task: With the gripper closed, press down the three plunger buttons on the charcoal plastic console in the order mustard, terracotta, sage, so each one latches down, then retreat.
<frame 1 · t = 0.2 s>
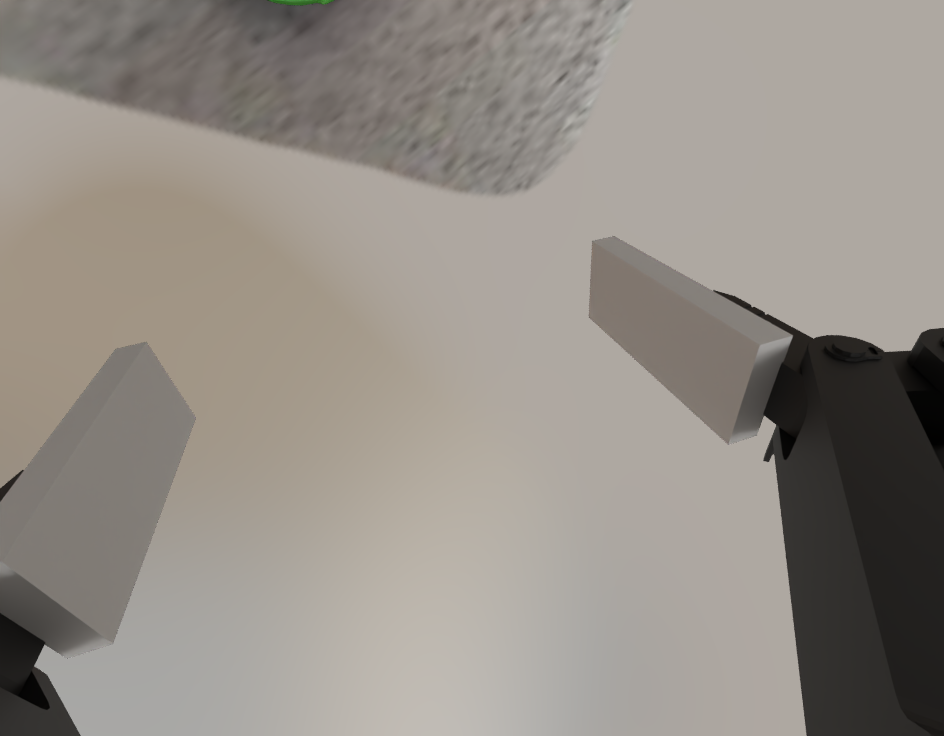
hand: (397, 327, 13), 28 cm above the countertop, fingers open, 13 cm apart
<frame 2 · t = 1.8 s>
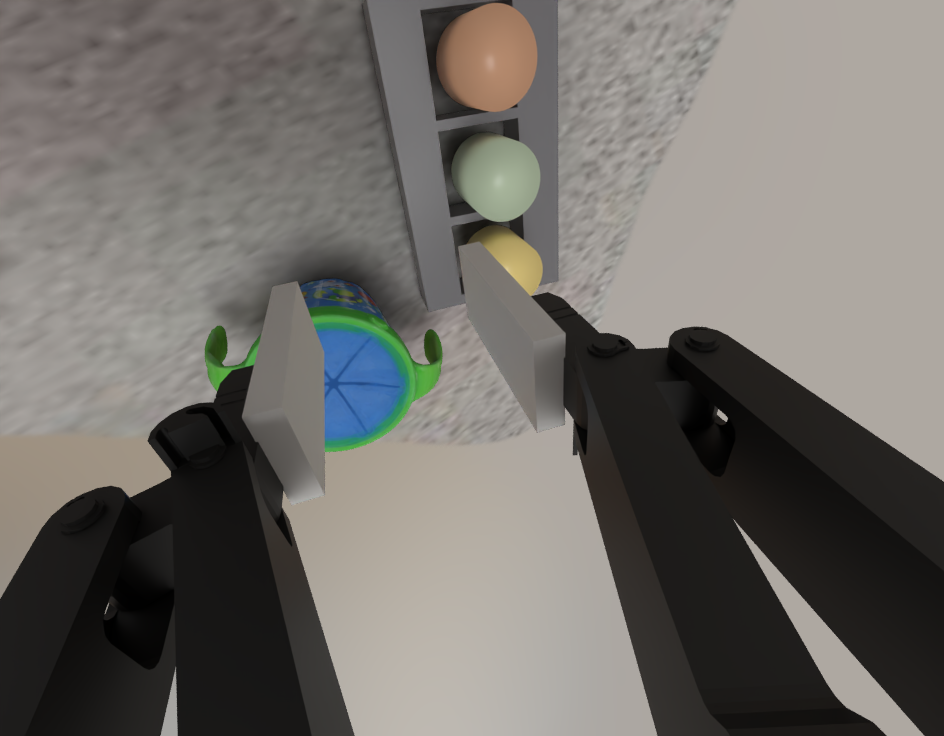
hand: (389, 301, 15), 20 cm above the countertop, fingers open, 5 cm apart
button mustard: (501, 265, 31), point 5 cm above the countertop, slide at 0.0 cm
snack cup: (331, 317, 36), on the countertop
console: (470, 162, 32), on the countertop
button terracotta: (484, 61, 24), point 5 cm above the countertop, slide at 0.0 cm
button sage: (494, 176, 28), point 5 cm above the countertop, slide at 0.0 cm
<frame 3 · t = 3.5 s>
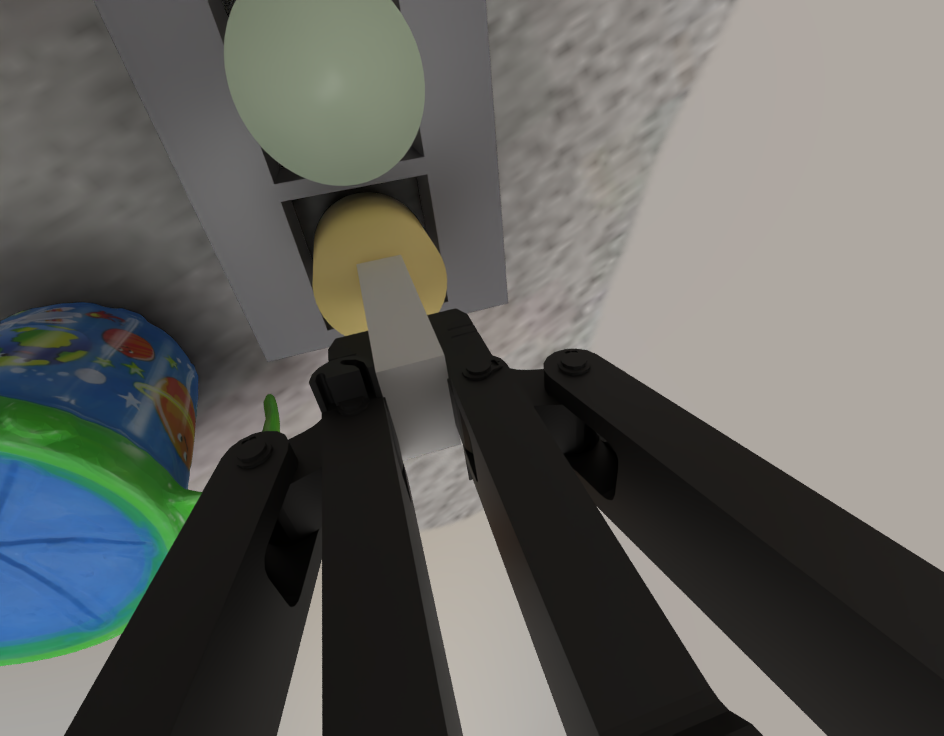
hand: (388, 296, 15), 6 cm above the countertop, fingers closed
button mustard: (376, 266, 17), point 4 cm above the countertop, slide at 1.4 cm, touching gripper
snack cup: (107, 368, 20), on the countertop
console: (326, 79, 16), on the countertop
button sage: (329, 83, 12), point 5 cm above the countertop, slide at 0.0 cm
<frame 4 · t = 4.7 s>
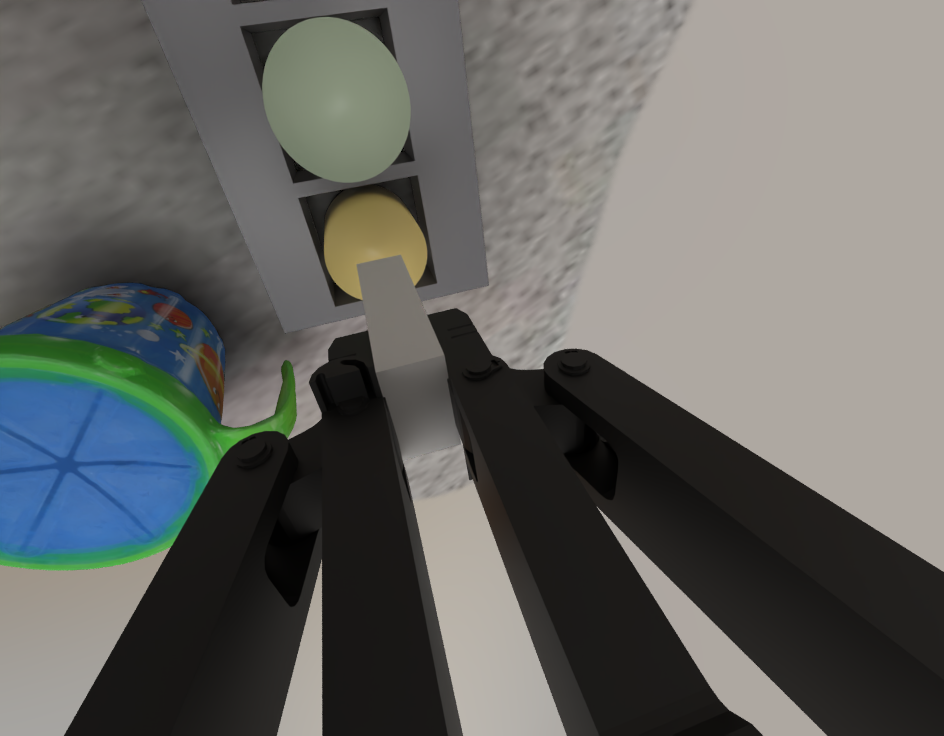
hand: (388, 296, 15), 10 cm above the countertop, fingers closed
button mustard: (373, 242, 22), point 3 cm above the countertop, slide at 2.8 cm
snack cup: (149, 341, 24), on the countertop
console: (335, 98, 20), on the countertop
button sage: (338, 104, 16), point 5 cm above the countertop, slide at 0.0 cm
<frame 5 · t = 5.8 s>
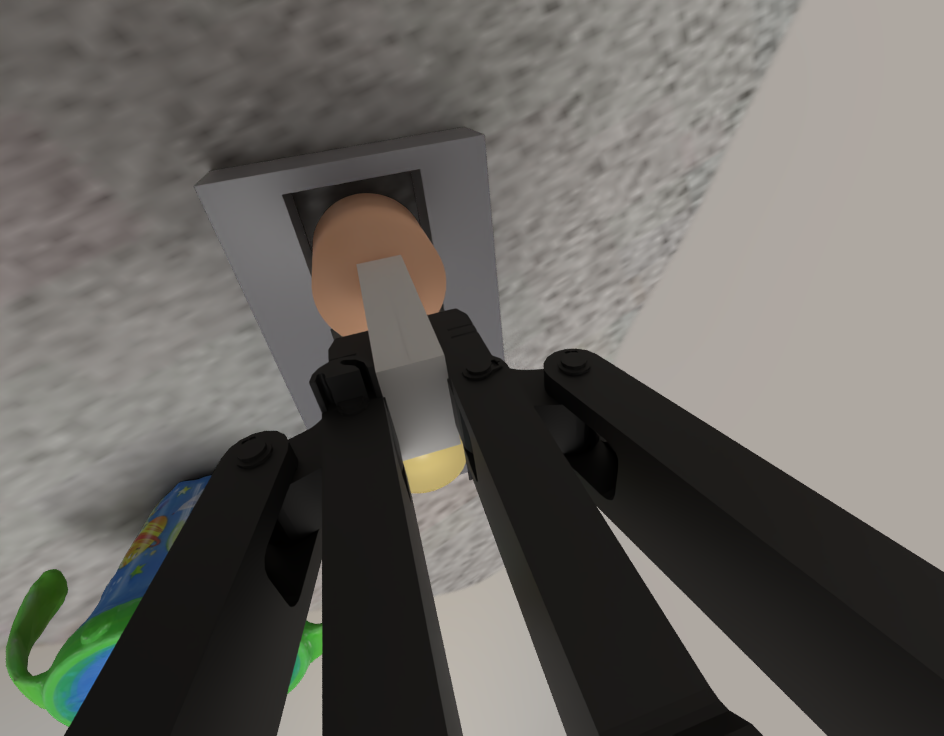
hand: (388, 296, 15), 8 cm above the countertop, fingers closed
button mustard: (420, 440, 26), point 3 cm above the countertop, slide at 2.8 cm
snack cup: (226, 507, 28), on the countertop
console: (391, 333, 25), on the countertop
button terracotta: (375, 267, 17), point 5 cm above the countertop, slide at 0.1 cm, touching gripper
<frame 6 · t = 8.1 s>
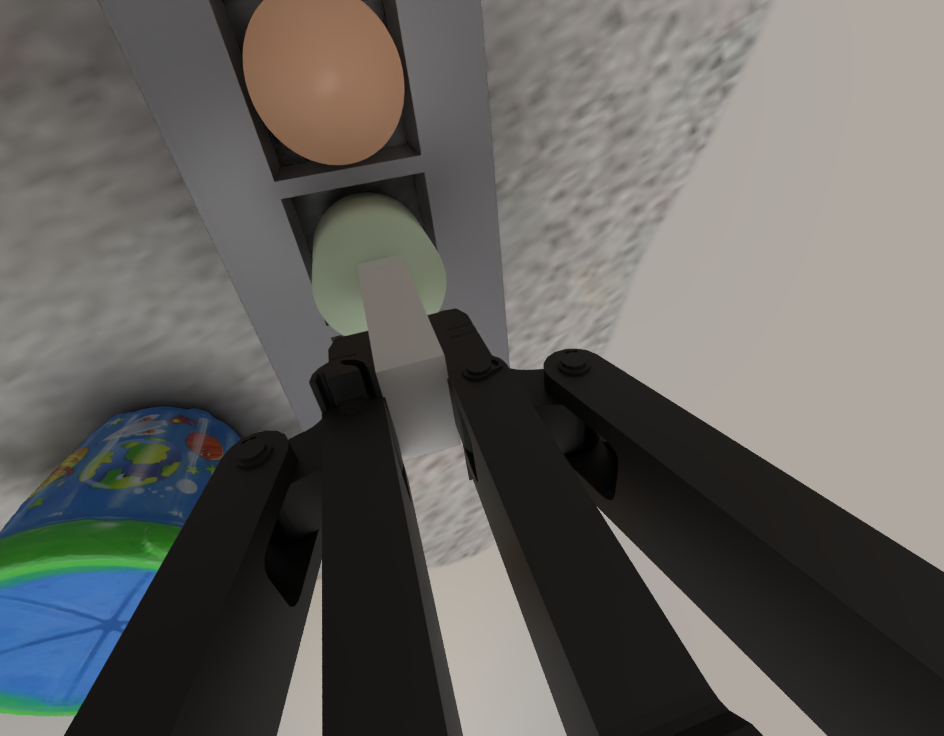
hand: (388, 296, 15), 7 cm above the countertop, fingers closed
snack cup: (175, 451, 24), on the countertop
console: (366, 232, 20), on the countertop
button terracotta: (327, 80, 15), point 3 cm above the countertop, slide at 2.8 cm
button sage: (376, 267, 17), point 4 cm above the countertop, slide at 0.9 cm, touching gripper
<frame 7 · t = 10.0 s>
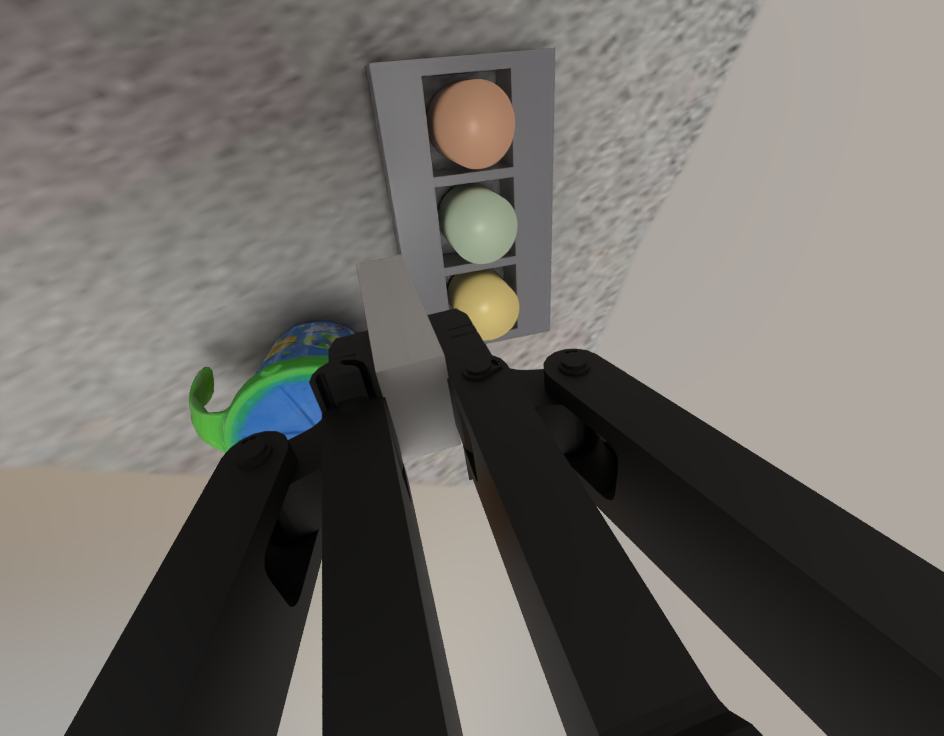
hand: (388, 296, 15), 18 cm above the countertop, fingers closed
button mustard: (482, 302, 34), point 3 cm above the countertop, slide at 2.8 cm
snack cup: (321, 358, 36), on the countertop
console: (466, 214, 33), on the countertop
button terracotta: (469, 124, 27), point 3 cm above the countertop, slide at 2.8 cm
button sage: (476, 222, 30), point 3 cm above the countertop, slide at 2.8 cm
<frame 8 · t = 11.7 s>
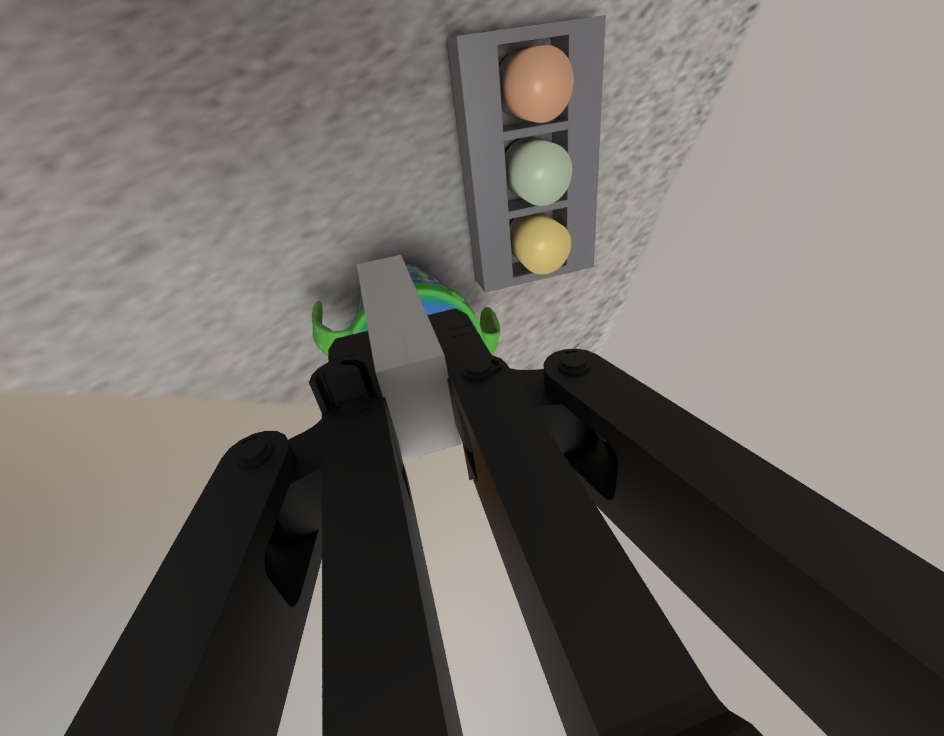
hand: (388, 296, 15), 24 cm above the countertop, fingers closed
button mustard: (537, 242, 39), point 3 cm above the countertop, slide at 2.8 cm
snack cup: (399, 298, 42), on the countertop
console: (523, 165, 38), on the countertop
button terracotta: (532, 85, 33), point 3 cm above the countertop, slide at 2.8 cm
button sage: (535, 171, 36), point 3 cm above the countertop, slide at 2.8 cm
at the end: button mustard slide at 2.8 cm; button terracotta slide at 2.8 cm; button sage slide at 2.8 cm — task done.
